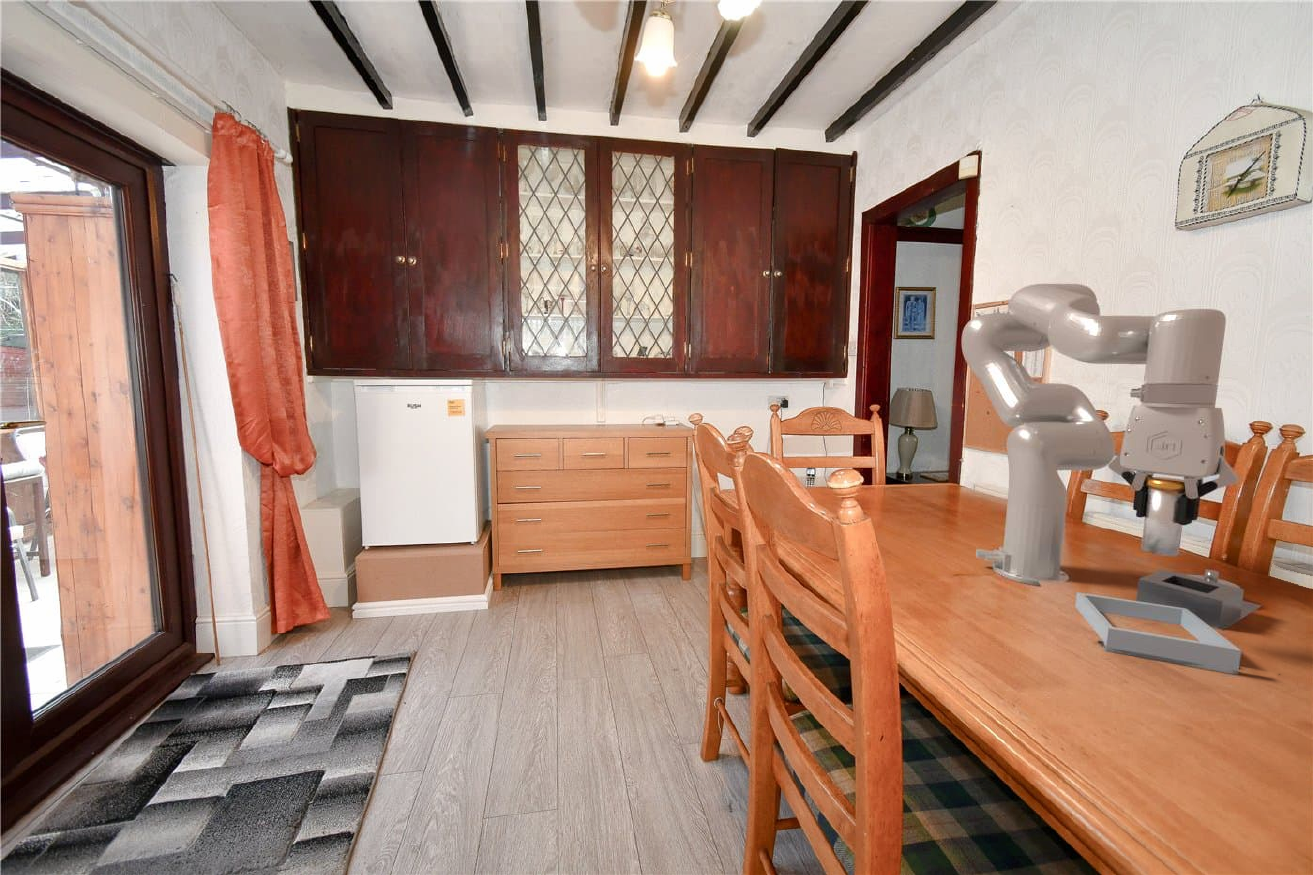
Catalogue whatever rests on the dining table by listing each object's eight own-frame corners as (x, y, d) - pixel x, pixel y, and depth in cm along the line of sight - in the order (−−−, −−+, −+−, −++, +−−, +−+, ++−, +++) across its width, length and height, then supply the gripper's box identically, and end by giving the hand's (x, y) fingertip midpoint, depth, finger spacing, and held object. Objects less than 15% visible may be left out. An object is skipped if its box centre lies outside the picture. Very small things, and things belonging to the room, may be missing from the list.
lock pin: (1146, 554, 75) (1154, 480, 73) (1133, 545, 79) (1140, 475, 78) (1188, 558, 73) (1197, 483, 71) (1172, 549, 77) (1180, 478, 76)
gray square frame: (1105, 650, 74) (1108, 628, 74) (1074, 611, 87) (1076, 592, 86) (1237, 675, 68) (1241, 650, 68) (1183, 629, 81) (1186, 608, 81)
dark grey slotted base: (1222, 636, 79) (1227, 599, 78) (1131, 607, 88) (1135, 575, 88) (1261, 611, 88) (1266, 578, 87) (1174, 587, 97) (1178, 558, 97)
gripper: (1094, 395, 79) (1083, 510, 81) (1256, 399, 64) (1237, 538, 66) (1116, 395, 82) (1104, 505, 84) (1274, 398, 68) (1256, 531, 70)
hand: (1163, 518), depth 75 cm, fingers closed on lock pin, 4 cm apart
